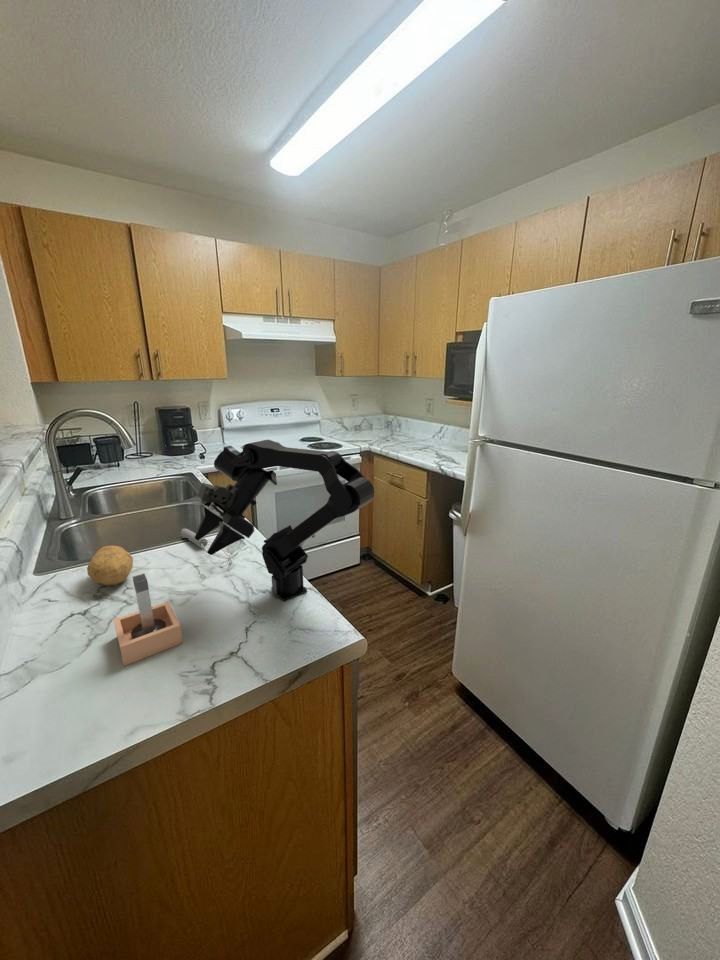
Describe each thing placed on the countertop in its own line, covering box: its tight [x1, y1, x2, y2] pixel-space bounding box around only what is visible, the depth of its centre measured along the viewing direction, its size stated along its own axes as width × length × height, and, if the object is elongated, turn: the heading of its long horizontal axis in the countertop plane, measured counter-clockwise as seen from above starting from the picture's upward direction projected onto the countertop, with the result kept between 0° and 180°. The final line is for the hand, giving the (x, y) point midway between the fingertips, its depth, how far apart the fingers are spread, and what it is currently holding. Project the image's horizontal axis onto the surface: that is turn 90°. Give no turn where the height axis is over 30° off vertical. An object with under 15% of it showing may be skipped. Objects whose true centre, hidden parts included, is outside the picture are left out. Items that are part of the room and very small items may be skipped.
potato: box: [86, 545, 134, 586], centre depth 96 cm, size 10×14×8 cm
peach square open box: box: [113, 601, 184, 667], centre depth 75 cm, size 10×10×4 cm
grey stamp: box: [131, 573, 166, 639], centre depth 74 cm, size 6×6×12 cm
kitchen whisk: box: [180, 527, 237, 568], centre depth 114 cm, size 6×34×6 cm, turn 45°
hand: (202, 546), depth 85 cm, fingers open, 9 cm apart
